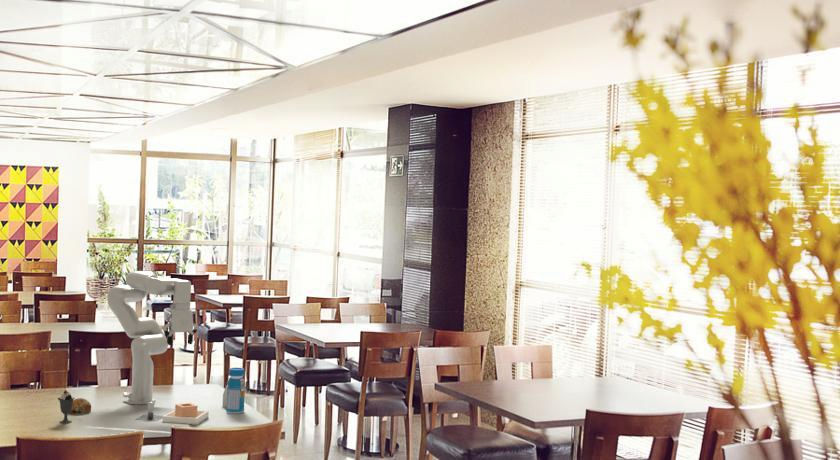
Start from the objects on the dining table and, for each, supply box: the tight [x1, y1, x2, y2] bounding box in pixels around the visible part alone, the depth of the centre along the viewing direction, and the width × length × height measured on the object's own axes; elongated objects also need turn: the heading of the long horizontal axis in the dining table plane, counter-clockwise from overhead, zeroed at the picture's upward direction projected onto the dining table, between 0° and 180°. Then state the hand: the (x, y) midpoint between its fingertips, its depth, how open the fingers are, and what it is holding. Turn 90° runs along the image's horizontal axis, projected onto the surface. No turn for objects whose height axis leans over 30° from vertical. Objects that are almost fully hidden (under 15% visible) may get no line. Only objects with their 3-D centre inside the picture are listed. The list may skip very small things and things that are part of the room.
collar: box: [174, 402, 198, 418], centre depth 355 cm, size 7×7×6 cm
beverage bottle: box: [225, 367, 246, 415], centre depth 376 cm, size 8×8×20 cm
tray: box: [161, 409, 209, 427], centre depth 355 cm, size 15×15×3 cm
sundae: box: [57, 385, 76, 425], centre depth 343 cm, size 7×7×15 cm
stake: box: [134, 402, 163, 422], centre depth 354 cm, size 10×10×7 cm
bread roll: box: [68, 397, 92, 415], centre depth 363 cm, size 10×10×8 cm
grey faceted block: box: [221, 385, 228, 409], centre depth 385 cm, size 4×7×10 cm, turn 62°
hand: (179, 344), depth 374 cm, fingers open, 9 cm apart
